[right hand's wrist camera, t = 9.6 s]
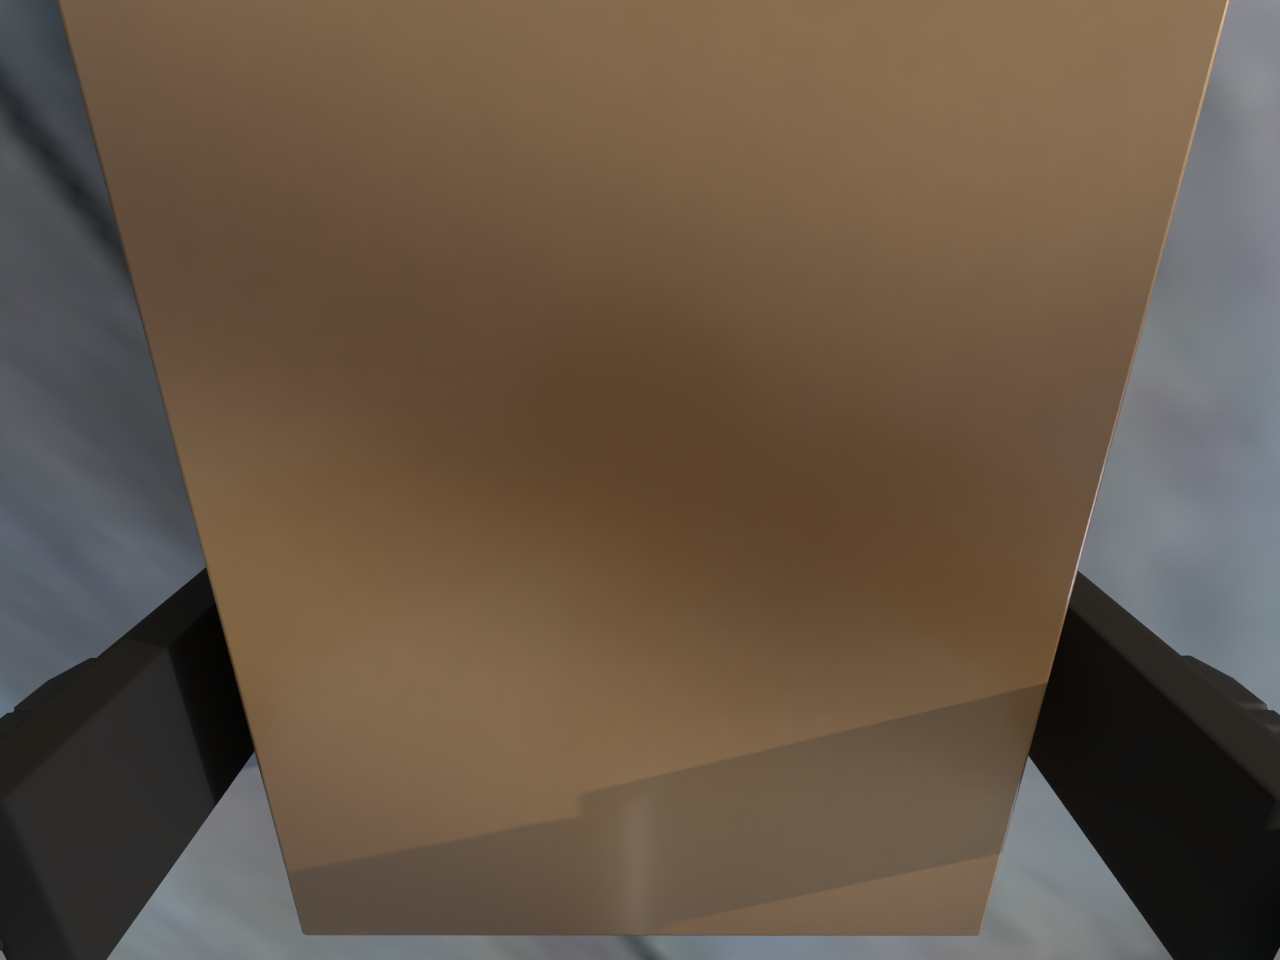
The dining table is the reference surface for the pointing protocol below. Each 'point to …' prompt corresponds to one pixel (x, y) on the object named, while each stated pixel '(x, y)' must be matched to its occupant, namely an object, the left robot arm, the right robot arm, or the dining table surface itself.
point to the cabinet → (642, 425)
